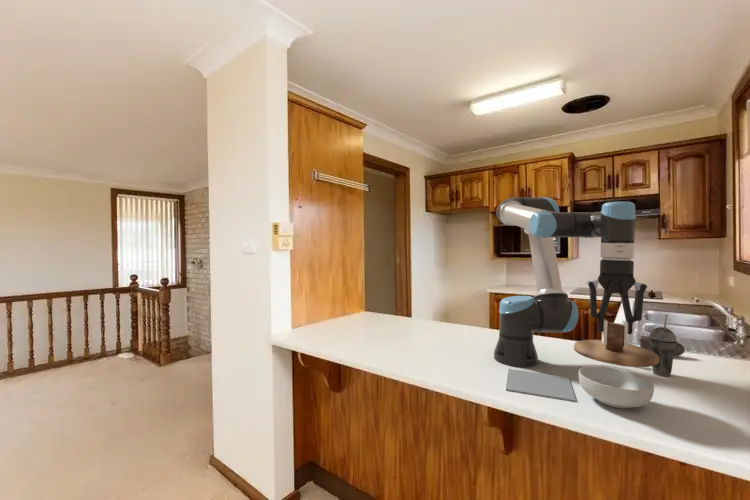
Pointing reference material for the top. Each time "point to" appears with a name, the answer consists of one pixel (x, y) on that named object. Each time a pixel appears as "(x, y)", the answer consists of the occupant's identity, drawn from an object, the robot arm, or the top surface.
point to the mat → (540, 384)
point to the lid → (616, 350)
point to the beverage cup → (663, 349)
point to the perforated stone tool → (646, 345)
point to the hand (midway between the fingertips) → (614, 344)
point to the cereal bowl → (616, 386)
